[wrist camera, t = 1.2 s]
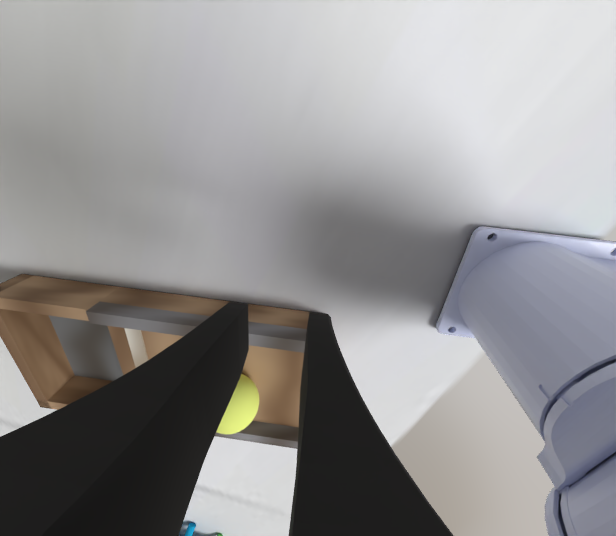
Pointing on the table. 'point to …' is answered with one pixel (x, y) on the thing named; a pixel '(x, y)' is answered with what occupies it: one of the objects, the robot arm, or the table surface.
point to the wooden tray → (142, 344)
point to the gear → (191, 529)
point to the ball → (240, 407)
